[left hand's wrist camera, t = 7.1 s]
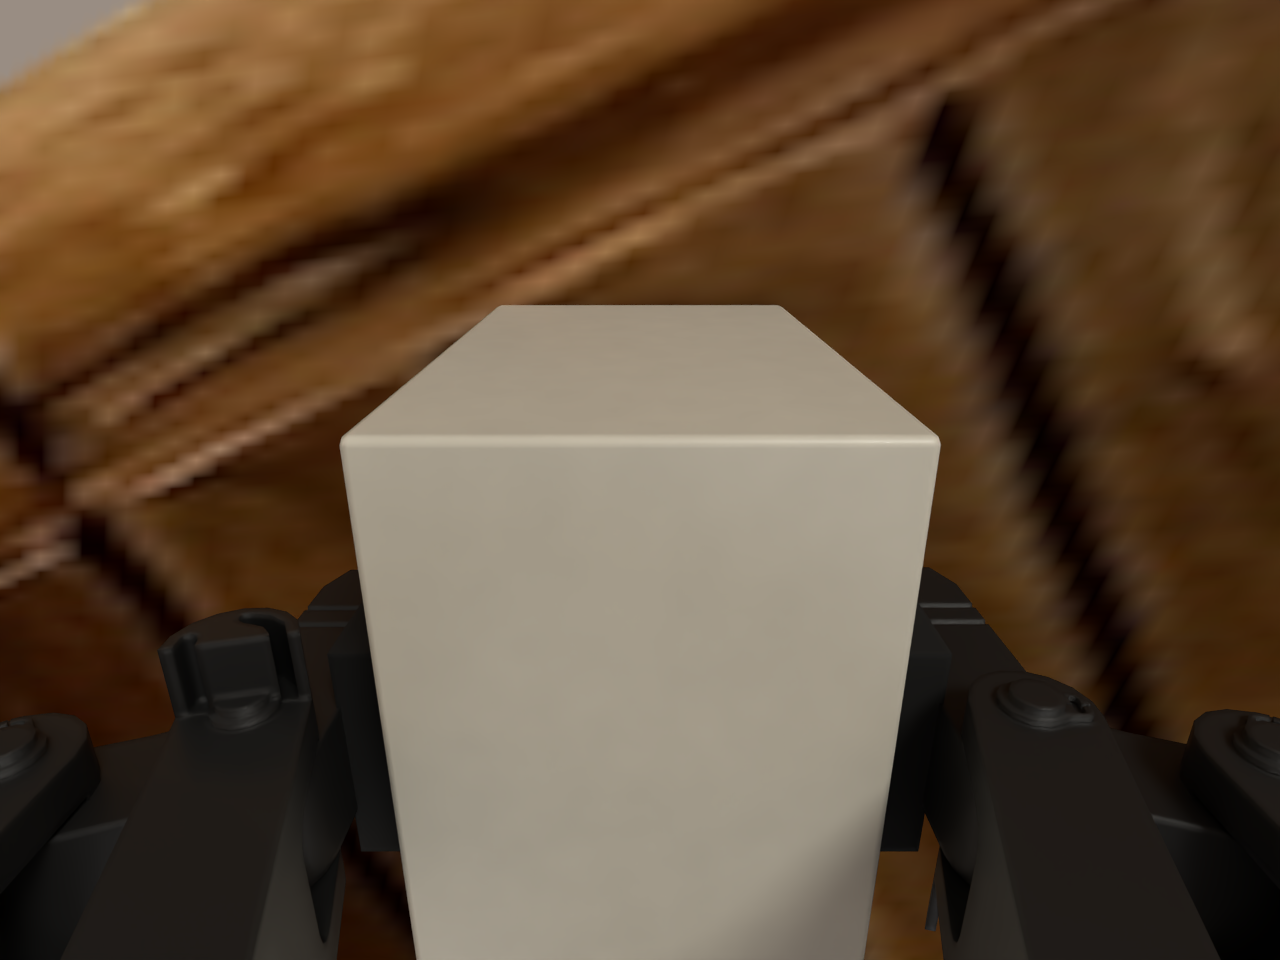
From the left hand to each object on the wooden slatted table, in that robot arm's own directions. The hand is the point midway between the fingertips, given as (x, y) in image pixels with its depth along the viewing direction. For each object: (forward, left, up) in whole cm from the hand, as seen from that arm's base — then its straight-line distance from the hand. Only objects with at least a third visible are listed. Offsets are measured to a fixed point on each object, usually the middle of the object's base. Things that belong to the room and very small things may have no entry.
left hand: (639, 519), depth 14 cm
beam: (-11, +7, 0) cm, 13 cm away
